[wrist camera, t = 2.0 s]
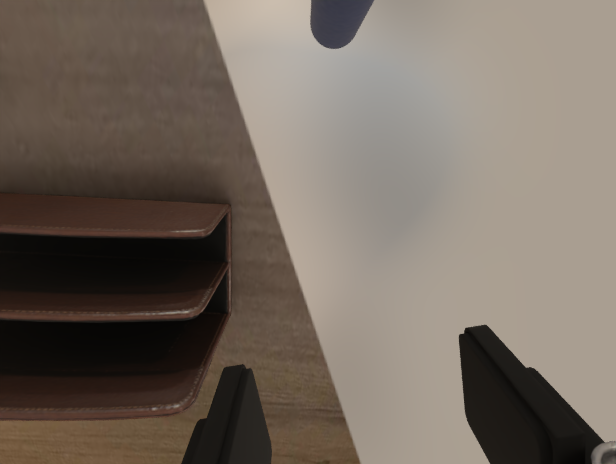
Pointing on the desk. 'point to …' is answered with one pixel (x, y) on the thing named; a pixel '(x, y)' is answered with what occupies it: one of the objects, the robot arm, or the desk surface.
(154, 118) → the desk surface
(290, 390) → the desk surface
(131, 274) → the letter holder
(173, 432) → the desk surface
